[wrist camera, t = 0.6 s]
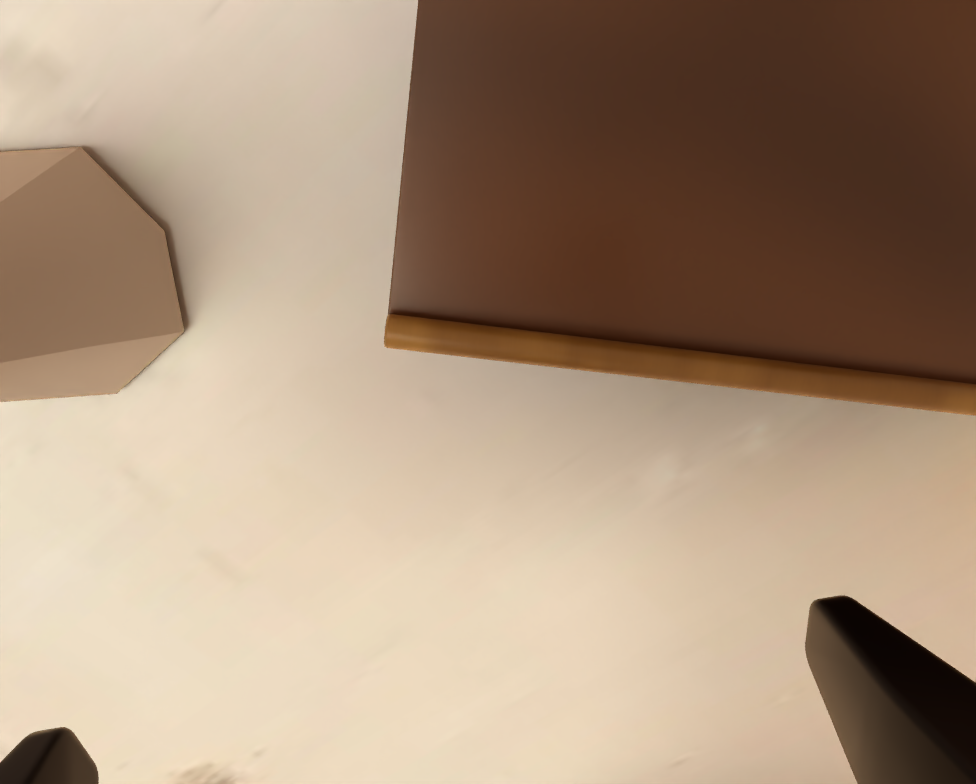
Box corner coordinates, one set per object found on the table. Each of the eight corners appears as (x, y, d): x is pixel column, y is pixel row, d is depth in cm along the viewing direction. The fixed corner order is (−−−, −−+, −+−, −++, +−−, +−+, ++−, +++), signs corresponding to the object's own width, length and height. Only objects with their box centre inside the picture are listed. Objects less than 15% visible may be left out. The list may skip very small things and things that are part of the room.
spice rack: (983, 377, 24) (1288, 513, 15) (394, 306, 22) (365, 416, 13) (1142, -54, 20) (1673, -196, 11) (443, -187, 18) (447, -481, 9)
